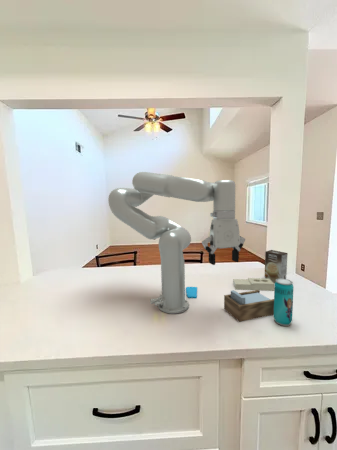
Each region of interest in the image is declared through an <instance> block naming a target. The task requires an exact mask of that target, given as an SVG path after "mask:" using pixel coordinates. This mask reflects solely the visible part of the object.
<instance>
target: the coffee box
mask: <svg viewBox="0 0 337 450" xmlns="http://www.w3.org/2000/svg"><path fill="white" fill-rule="evenodd" d="M264 254H265V255H264V277H263V278H267V279H270V280H271V281H272V282H273V283H274V284H275V282H276V279H287V274H288V273H287V272H288V252H283V251H278V250H274V249H270V250H266V251H265V253H264Z"/></svg>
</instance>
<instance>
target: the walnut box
mask: <svg viewBox="0 0 337 450" xmlns="http://www.w3.org/2000/svg"><path fill="white" fill-rule="evenodd" d="M260 291H261V290H248V291H243V292H238V293H239V294H240V295H246V294H252V293H260ZM260 294H261V293H260ZM223 296H224V297H223V299H224V300H223V304H224V305H223V310H225V311H226V312H227V313H229V314H230V315H231V316H232V317H233V318H234V319H235V320H236V321H237V322H238V323H239V322H240V323H241V322H245V321H251V320H255V319H256V320H257V319H260V318H265V317H270V316H274V298H272V299H271V298H270V299H271V300H266V301H260V302H254V303H249V304H243V305H240V304H238V303H237V302H235V301H234V300H233V299H231V293H230V294H224V295H223Z"/></svg>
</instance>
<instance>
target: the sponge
mask: <svg viewBox="0 0 337 450" xmlns="http://www.w3.org/2000/svg"><path fill="white" fill-rule="evenodd" d="M185 296H186V298H187V299H197V298H198V287H197V286H186V287H185Z"/></svg>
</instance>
